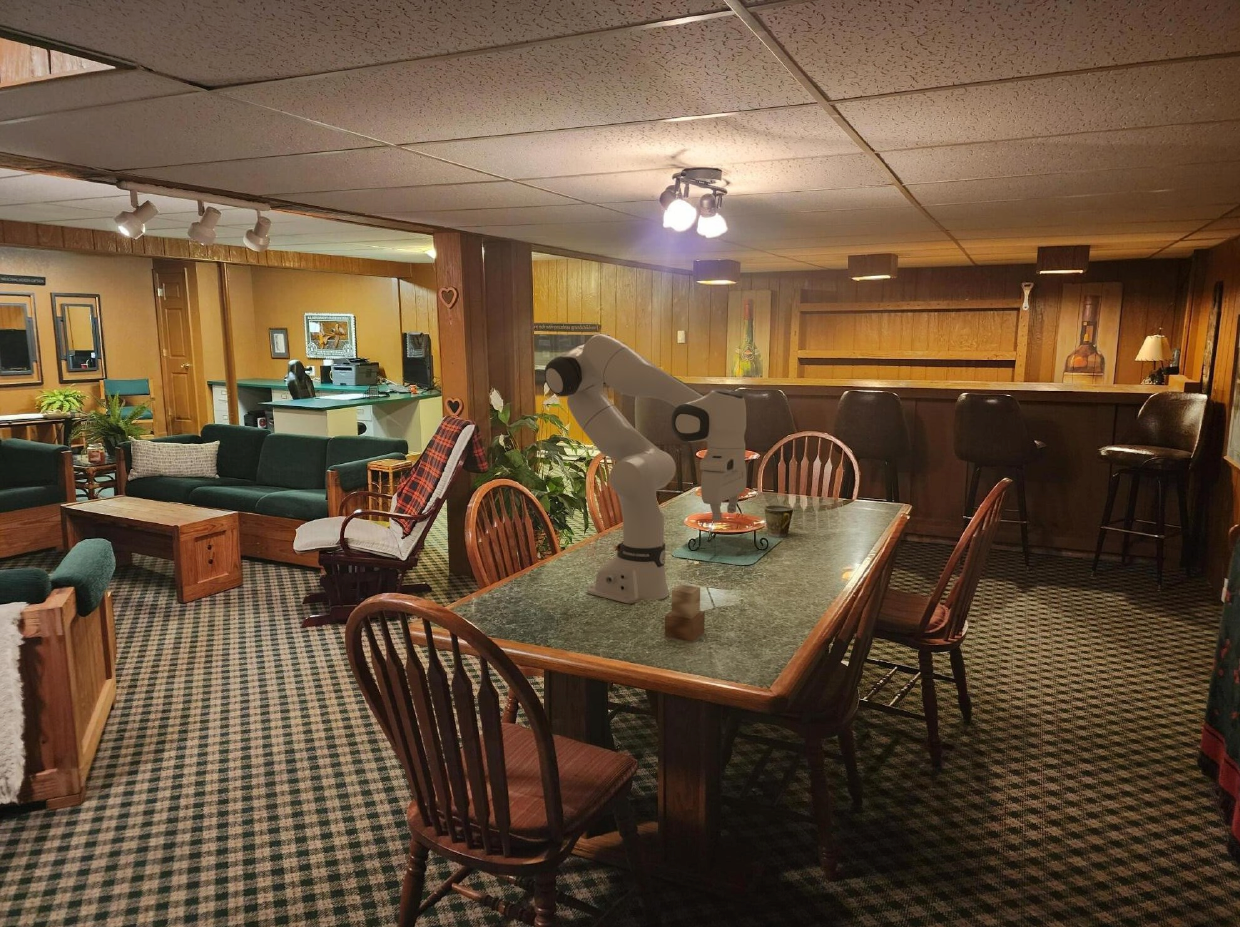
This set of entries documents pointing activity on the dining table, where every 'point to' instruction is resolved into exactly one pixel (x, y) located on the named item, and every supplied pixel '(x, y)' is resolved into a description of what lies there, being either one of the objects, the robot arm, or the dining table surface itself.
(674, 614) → the maple block
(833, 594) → the dining table surface
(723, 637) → the dining table surface
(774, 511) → the ceramic cup
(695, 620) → the walnut block
